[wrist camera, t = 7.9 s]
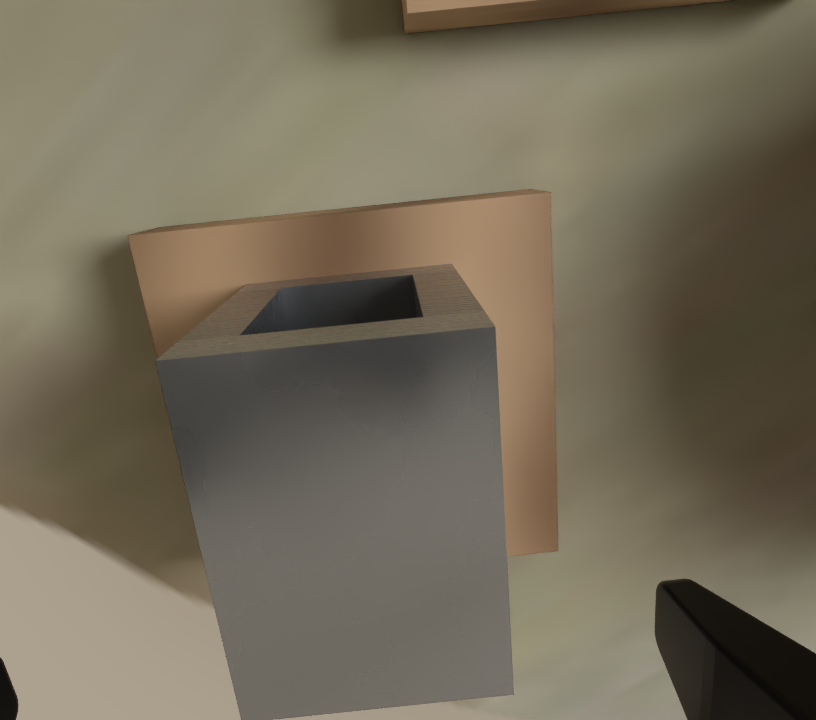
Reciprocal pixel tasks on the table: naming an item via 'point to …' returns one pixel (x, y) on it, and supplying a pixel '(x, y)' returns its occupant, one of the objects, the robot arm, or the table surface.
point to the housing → (348, 490)
